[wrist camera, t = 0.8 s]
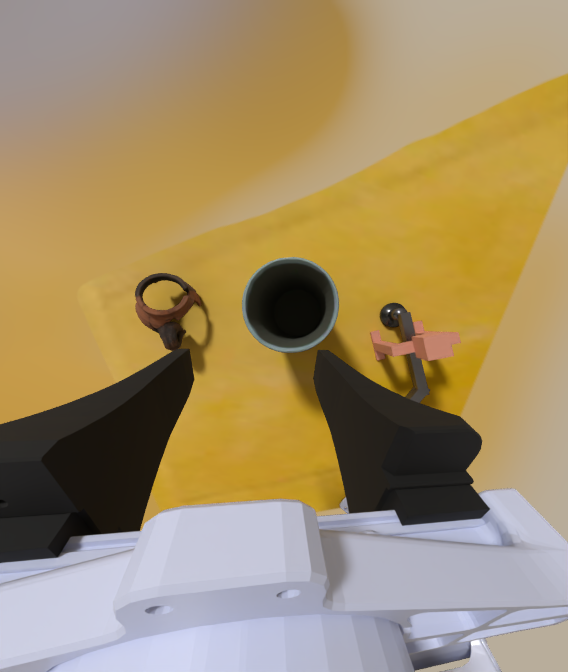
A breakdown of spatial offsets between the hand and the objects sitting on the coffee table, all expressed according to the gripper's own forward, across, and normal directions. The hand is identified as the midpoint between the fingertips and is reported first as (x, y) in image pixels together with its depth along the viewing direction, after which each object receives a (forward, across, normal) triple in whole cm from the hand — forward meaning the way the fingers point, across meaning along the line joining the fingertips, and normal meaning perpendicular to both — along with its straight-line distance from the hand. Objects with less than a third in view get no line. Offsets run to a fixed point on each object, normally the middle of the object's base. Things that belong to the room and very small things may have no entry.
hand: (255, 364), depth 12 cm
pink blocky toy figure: (+16, -21, +7) cm, 27 cm away
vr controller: (+26, +14, +7) cm, 30 cm away
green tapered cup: (+21, -6, +5) cm, 23 cm away
